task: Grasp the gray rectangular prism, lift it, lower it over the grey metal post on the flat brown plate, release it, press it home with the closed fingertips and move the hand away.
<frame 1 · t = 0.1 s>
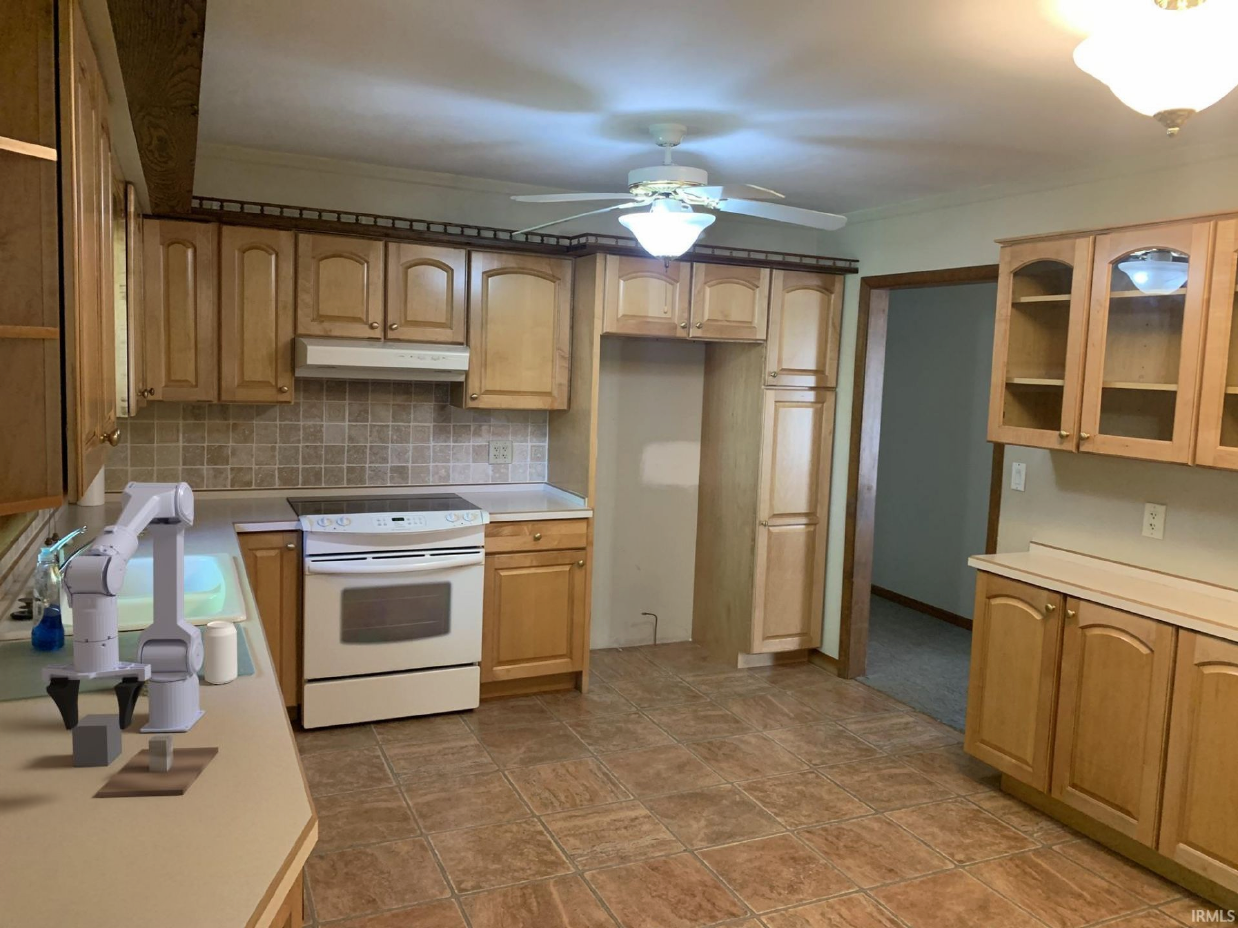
hand: (98, 727, 136), 10 cm above the countertop, tool pointing down, fingers open, 7 cm apart
flat brown plate: (161, 773, 144), on the countertop
supplement bottle: (158, 692, 181), on the countertop
gray rectangular prism: (98, 759, 148), on the countertop
beverage can: (221, 682, 188), on the countertop
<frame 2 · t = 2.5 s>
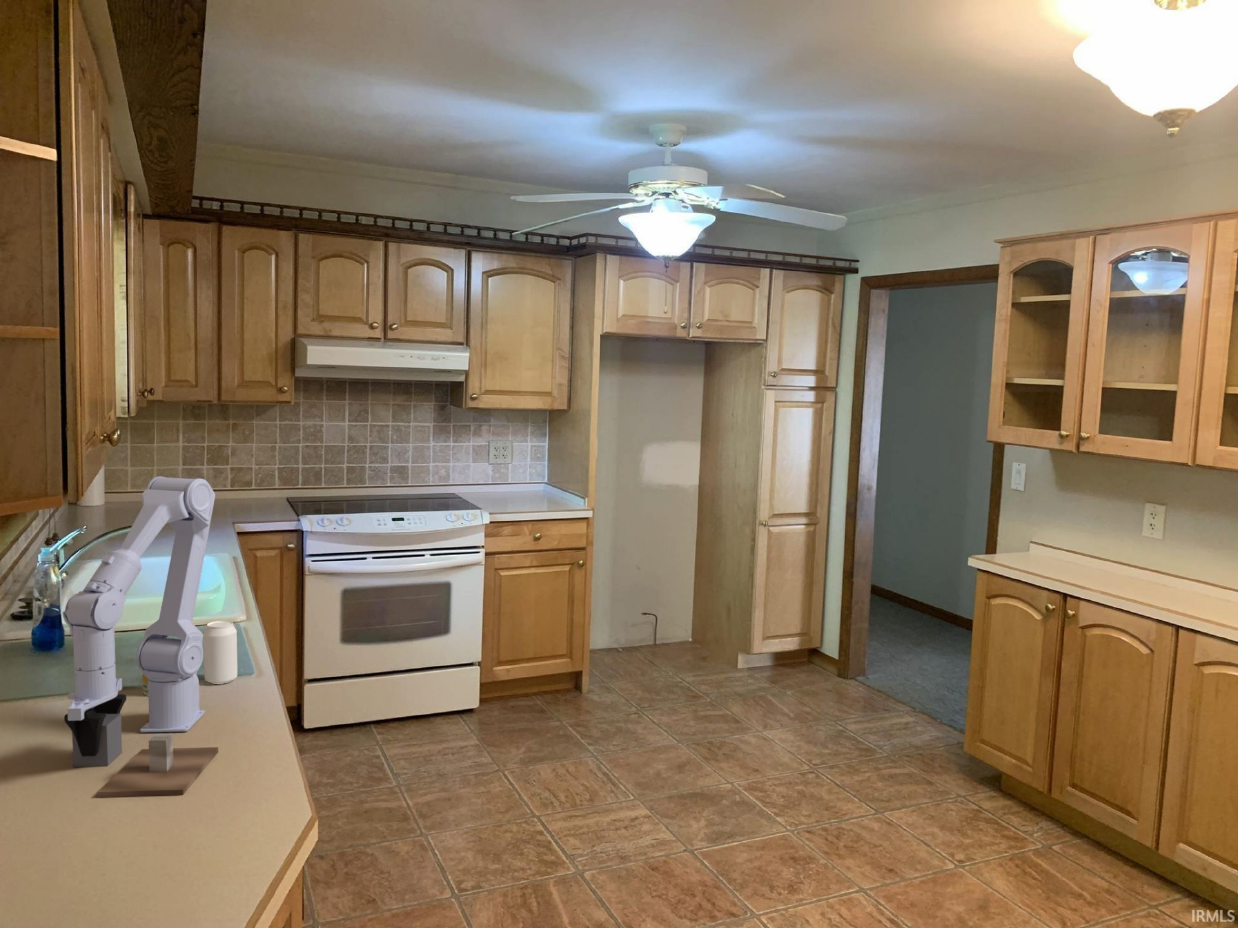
hand: (97, 748, 148), 2 cm above the countertop, tool pointing down, fingers closed on gray rectangular prism, 5 cm apart
gray rectangular prism: (98, 759, 148), on the countertop, touching gripper
everything else where it was.
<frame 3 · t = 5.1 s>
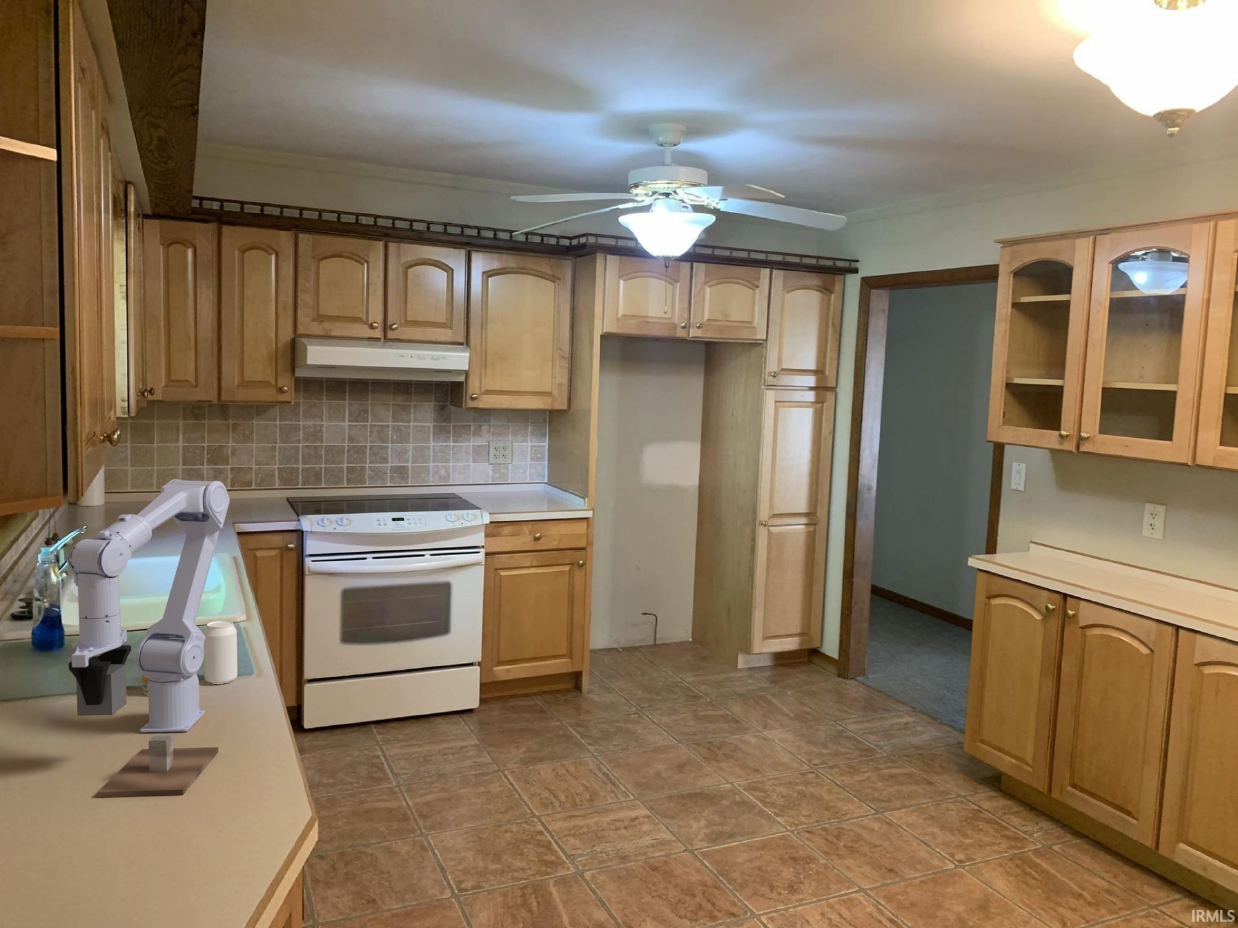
hand: (102, 697, 147), 10 cm above the countertop, tool pointing down, fingers closed on gray rectangular prism, 5 cm apart
gray rectangular prism: (102, 709, 147), point 8 cm above the countertop, touching gripper
everything else where it was.
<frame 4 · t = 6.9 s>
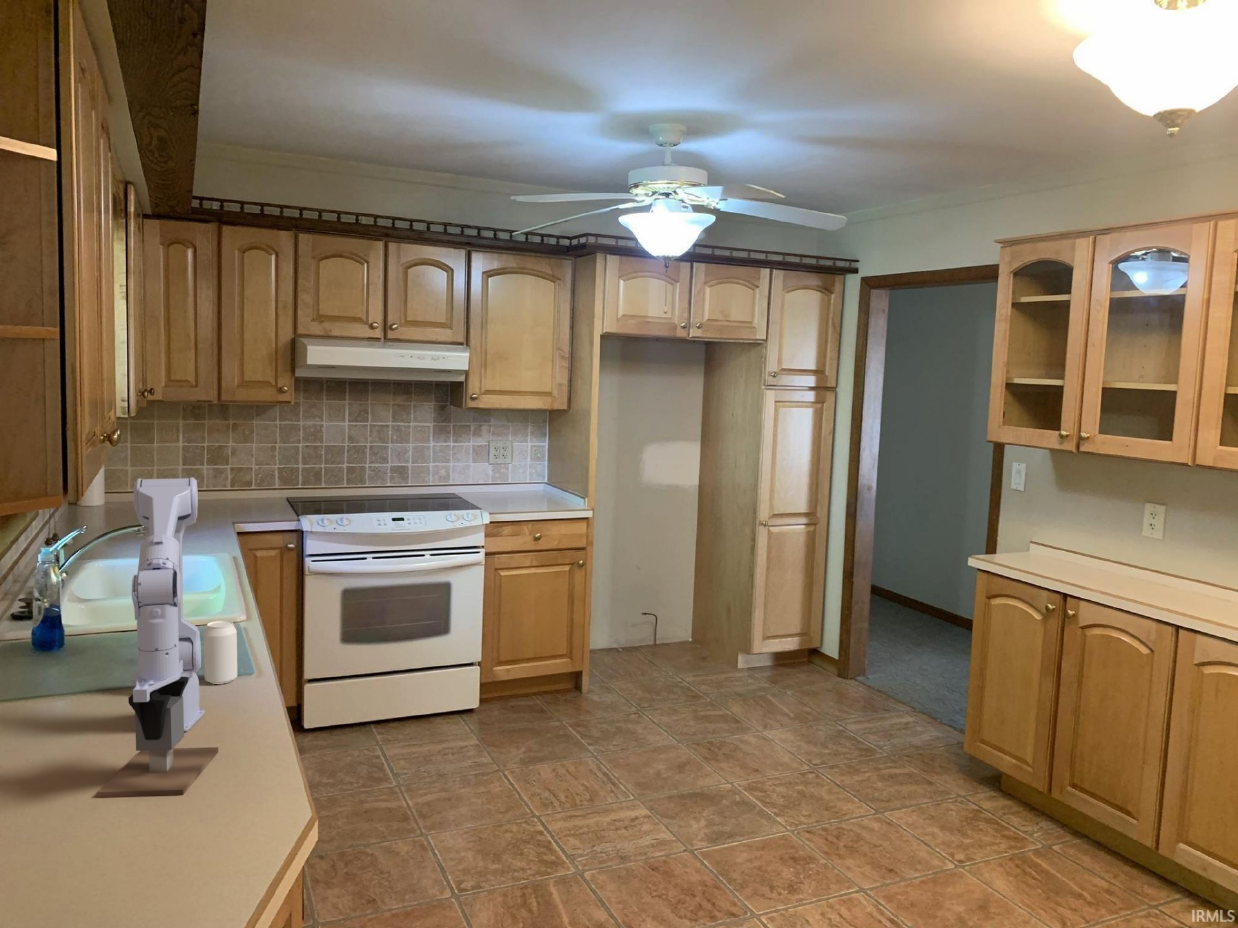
hand: (160, 731, 143), 7 cm above the countertop, tool pointing down, fingers closed on gray rectangular prism, 5 cm apart
gray rectangular prism: (160, 743, 143), point 5 cm above the countertop, touching gripper
everything else where it was.
when the fingers open (4 cm above the countertop, at t = 8.1 s): gray rectangular prism stays where it is, resting on flat brown plate.
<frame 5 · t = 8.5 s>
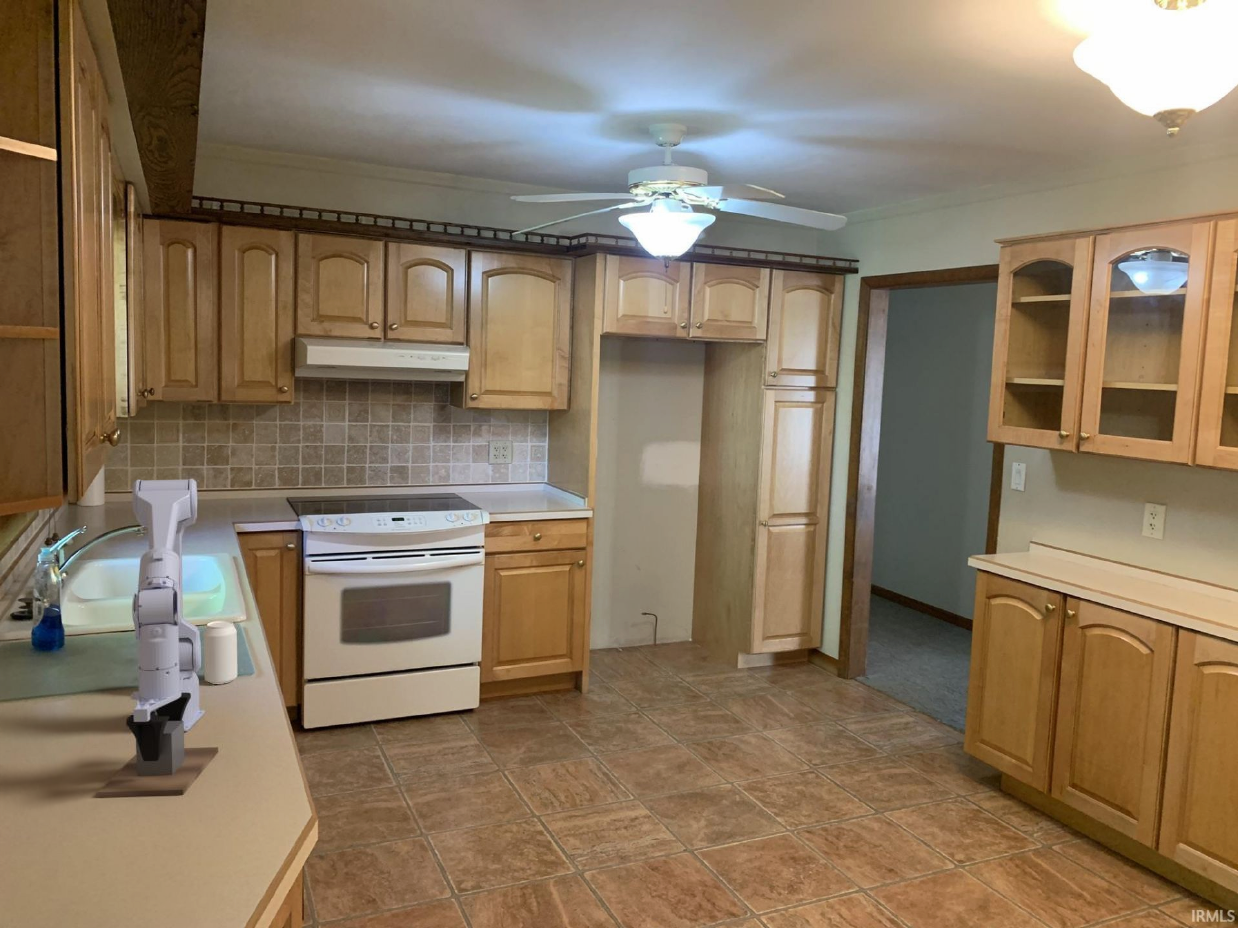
hand: (161, 750, 143), 4 cm above the countertop, tool pointing down, fingers open, 7 cm apart
gray rectangular prism: (161, 768, 143), point 1 cm above the countertop, touching flat brown plate
everything else where it was.
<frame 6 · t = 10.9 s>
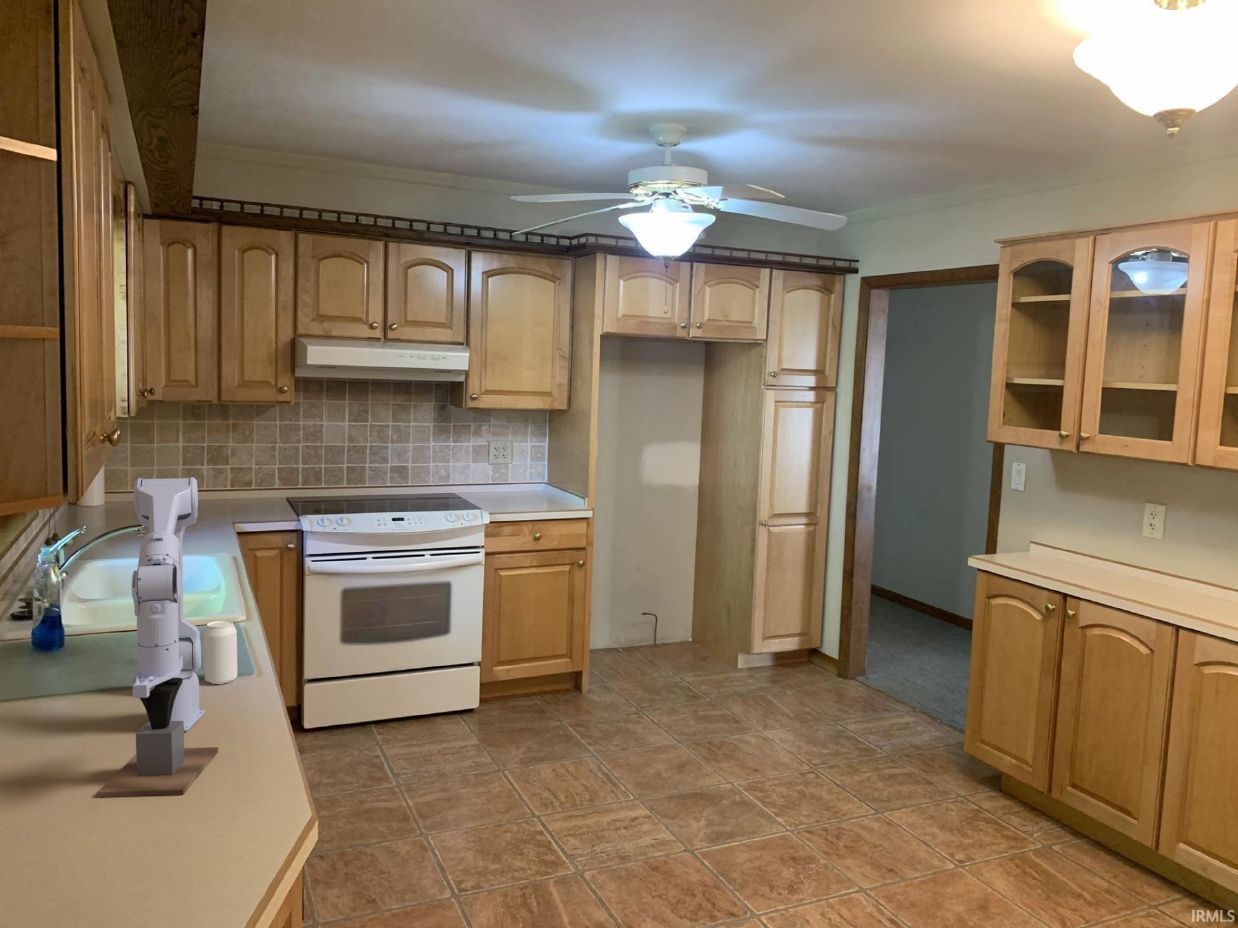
hand: (160, 727, 143), 7 cm above the countertop, tool pointing down, fingers closed, pressing on gray rectangular prism
gray rectangular prism: (161, 768, 143), point 1 cm above the countertop, touching gripper, flat brown plate
everything else where it was.
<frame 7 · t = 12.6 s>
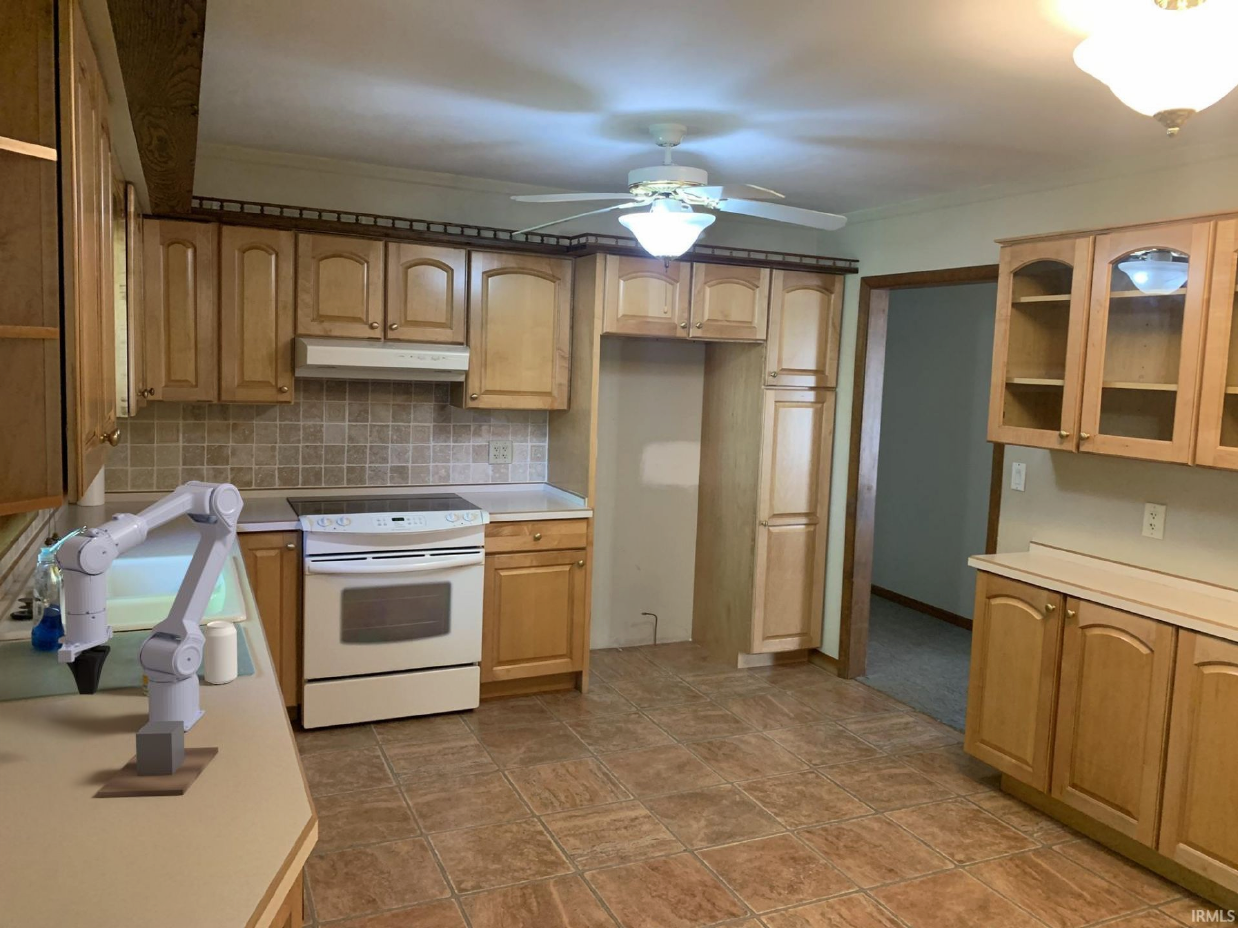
hand: (88, 693, 149), 10 cm above the countertop, tool pointing down, fingers closed
gray rectangular prism: (161, 768, 143), point 1 cm above the countertop, touching flat brown plate
everything else where it was.
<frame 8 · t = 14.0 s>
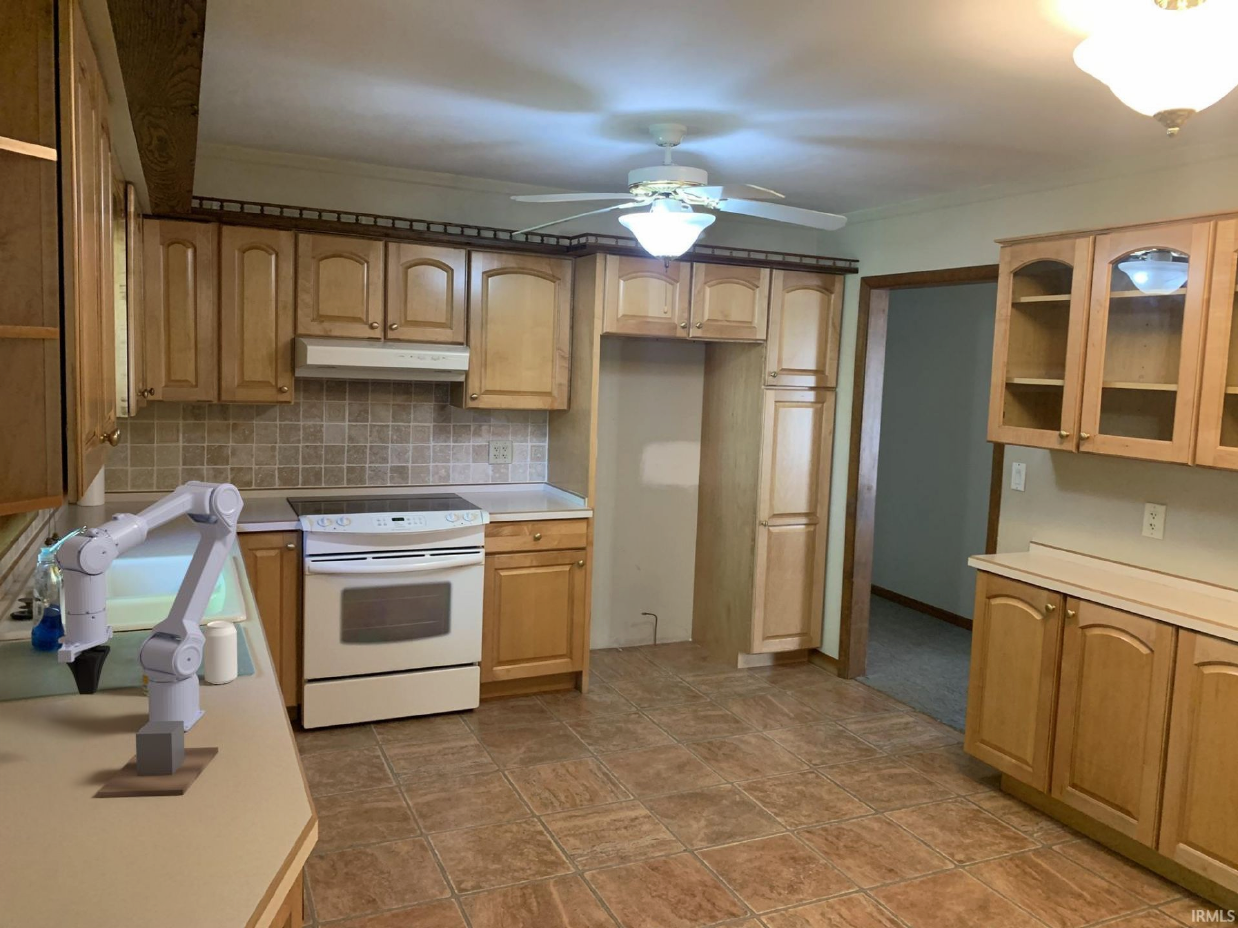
hand: (88, 693, 149), 10 cm above the countertop, tool pointing down, fingers closed
nothing on the countertop moved.
at the end: gray rectangular prism 0.0 cm from the flat brown plate (horizontally); gray rectangular prism point 0.8 cm above the countertop; gray rectangular prism tilted 0° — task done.
